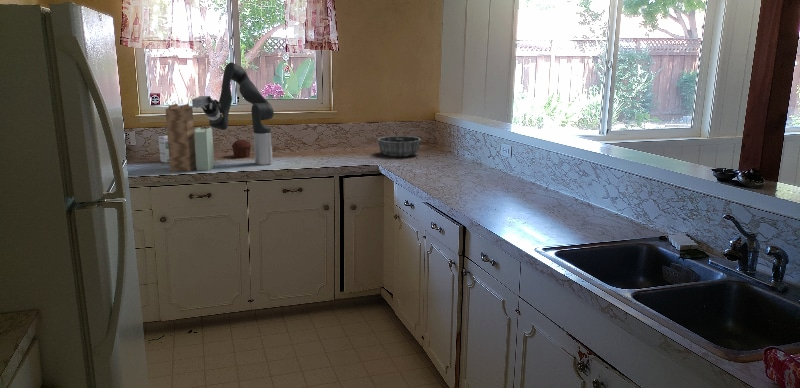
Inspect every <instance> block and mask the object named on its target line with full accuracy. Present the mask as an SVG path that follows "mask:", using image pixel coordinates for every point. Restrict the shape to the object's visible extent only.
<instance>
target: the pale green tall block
mask: <svg viewBox="0 0 800 388" xmlns="http://www.w3.org/2000/svg"><path fill="white" fill-rule="evenodd" d="M194 139H195V154H196V171H210V170H211V169H213V168H214V167H215V159H214V158H215V157H214V156H215V155H214V154H215V153H214V141H213V129H212V127H211V126H210V127H208V128H203V129H202V128H201V127H197V128H194Z"/></svg>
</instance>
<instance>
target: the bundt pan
mask: <svg viewBox="0 0 800 388" xmlns="http://www.w3.org/2000/svg"><path fill="white" fill-rule="evenodd" d="M376 140H377V142H378V147H379V151H380V153H382V154H383V155H384V156H387V157H398V158H401V157H403V158H404V157H411V156H415V155H416V154H417V153H418V152H419V150H420V145H421V141H422V138H420V137H418V136H417V137H416V136H407V135H406V136H405V135H396V136H395V135H393V136H392V135H391V136H384V137H378V138H377V139H376Z"/></svg>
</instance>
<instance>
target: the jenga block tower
mask: <svg viewBox="0 0 800 388" xmlns="http://www.w3.org/2000/svg"><path fill="white" fill-rule="evenodd" d="M193 113H194V111H193V106H190V104H189V103H186V104H183V105H180V106H179V104H178V103H175V104H171V105H168V107H167V108H165V119H166V120H165V121H166V133H167V134H166V135H168V148H169V161H170V162H169V171H170V172H192V171H193V170H194V169H196V168H197V163H196V149H195V134H194V130H195V127H194V114H193Z"/></svg>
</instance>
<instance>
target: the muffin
mask: <svg viewBox="0 0 800 388" xmlns="http://www.w3.org/2000/svg"><path fill="white" fill-rule="evenodd" d="M231 148H232V152H233V156H234V158H235V159H238V158H239V159H245V158H246V159H247V158H250V156H251V149H252V144H251V143H250V141H248V140H247V139H243V138H241V139H237V140H234V142H233V143H232V145H231Z"/></svg>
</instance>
